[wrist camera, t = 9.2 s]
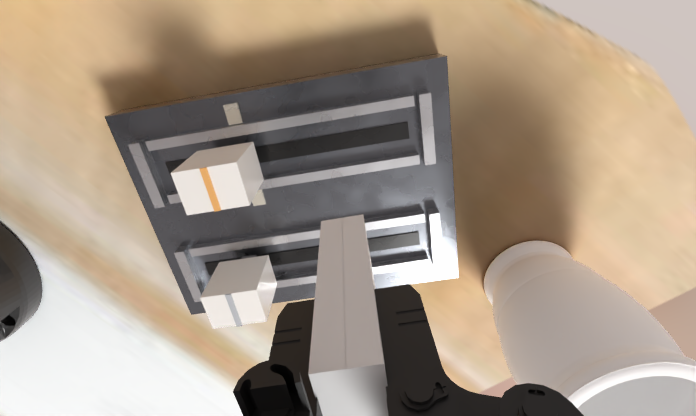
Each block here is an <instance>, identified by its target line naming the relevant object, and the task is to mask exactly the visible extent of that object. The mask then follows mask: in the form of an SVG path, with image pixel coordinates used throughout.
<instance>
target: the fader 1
mask: <svg viewBox="0 0 696 416" xmlns="http://www.w3.org/2000/svg"><path fill="white" fill-rule="evenodd" d="M171 176H172V178H173V181H174V184H175V186H176V189H177V191H178V194H179V196H180V199H181V202H182V204H183V207H184V209H185V212H186V214H187V215H193V214H199V213H205V212H212V211H214V212H216V211H221V210H224V209H231V208H237V207H244V206H250V204H251V202H252V201H253V199H254V197H255V195H256V193H257V191H258V189H259V188H260V186H261V184H262V182H263V180H264V178H263V175H262V171H261V167H260V164H259V160H258V157H257V153H256V150H255V146H254V142H248V143H242V144H236V145H230V146H224V147H218V148H212V149H206V150H200V151H196V152H195V153H194V154H193V155H192V156H190V157H189V158H188V159H187V160H186V161H184V162H183V163H182V164H181V165H180V166H178V167H177V168H176V169H175V170H174V171H172V172H171Z"/></svg>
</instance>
